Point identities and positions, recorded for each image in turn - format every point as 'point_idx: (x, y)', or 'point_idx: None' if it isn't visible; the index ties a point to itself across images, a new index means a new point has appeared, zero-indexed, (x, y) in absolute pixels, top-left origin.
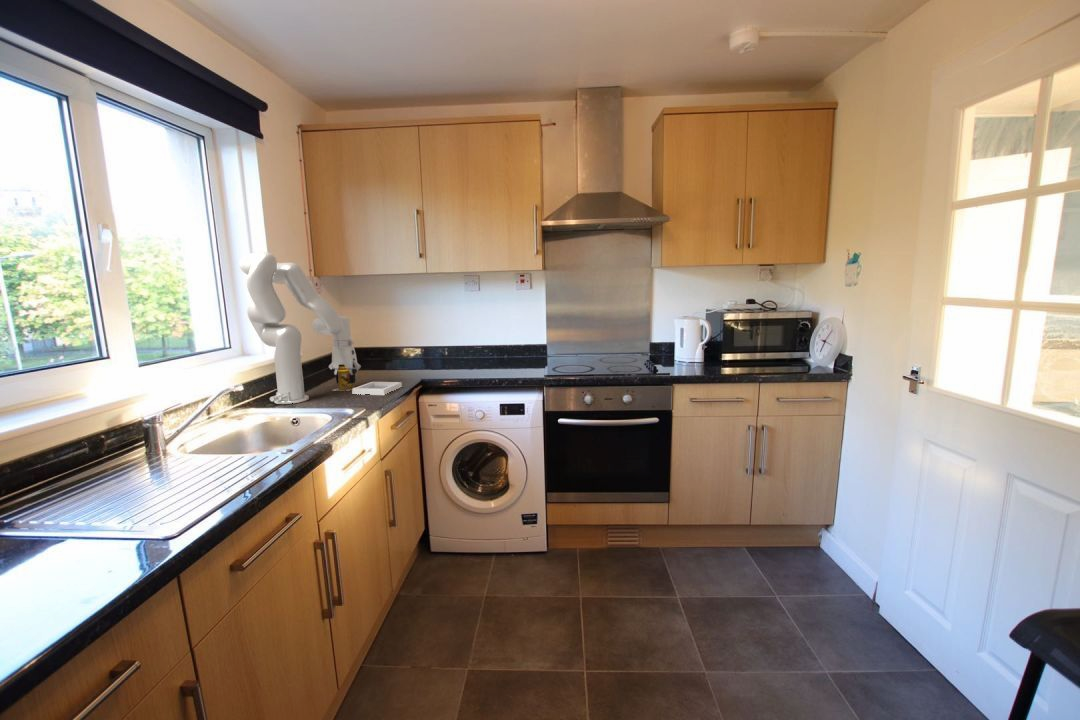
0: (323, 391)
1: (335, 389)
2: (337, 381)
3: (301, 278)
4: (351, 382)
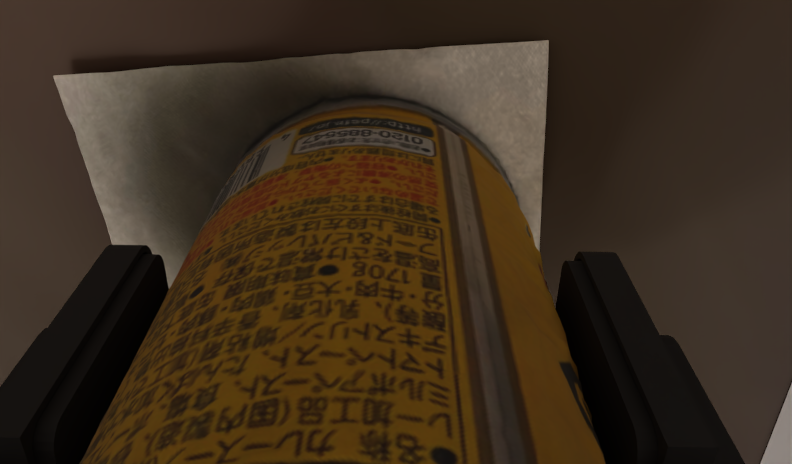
0: None
1: None
2: None
3: None
4: None
